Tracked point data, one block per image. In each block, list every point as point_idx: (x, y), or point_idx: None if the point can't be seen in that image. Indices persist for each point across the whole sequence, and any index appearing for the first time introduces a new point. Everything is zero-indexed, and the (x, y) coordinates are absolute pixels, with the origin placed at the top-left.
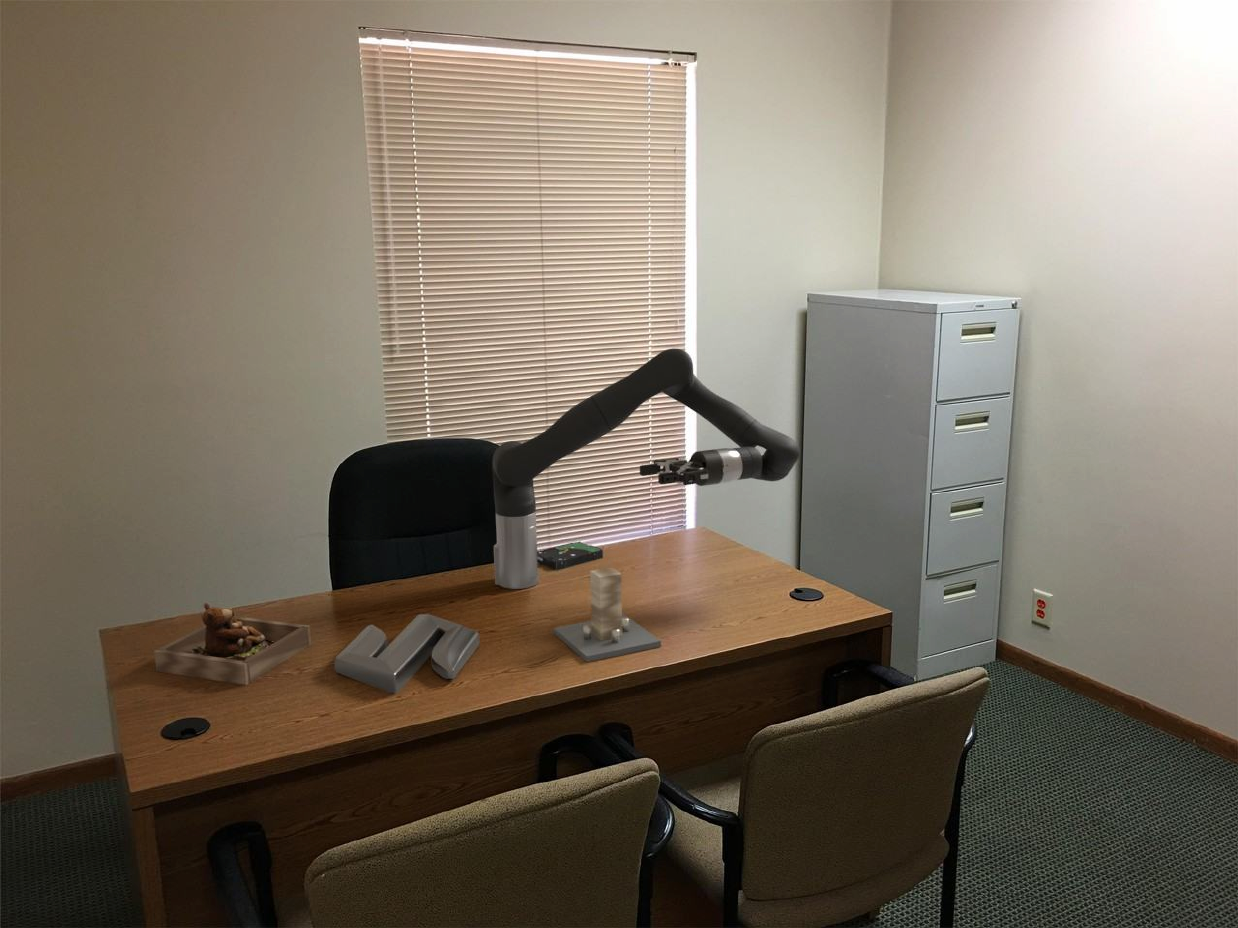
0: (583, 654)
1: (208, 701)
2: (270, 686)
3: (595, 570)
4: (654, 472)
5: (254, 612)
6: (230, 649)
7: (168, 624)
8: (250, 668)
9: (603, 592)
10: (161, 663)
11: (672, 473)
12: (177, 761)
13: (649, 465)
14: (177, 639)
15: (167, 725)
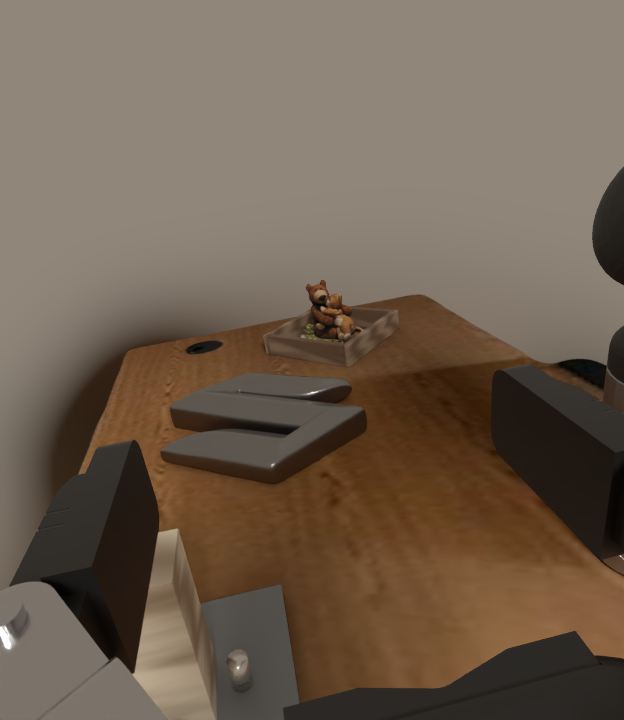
0: None
1: (245, 346)
2: (255, 363)
3: (171, 540)
4: (580, 520)
5: (456, 330)
6: (313, 327)
7: (428, 306)
8: (270, 342)
9: None
10: None
11: (62, 548)
12: (153, 353)
13: (549, 407)
14: None
15: (216, 340)
